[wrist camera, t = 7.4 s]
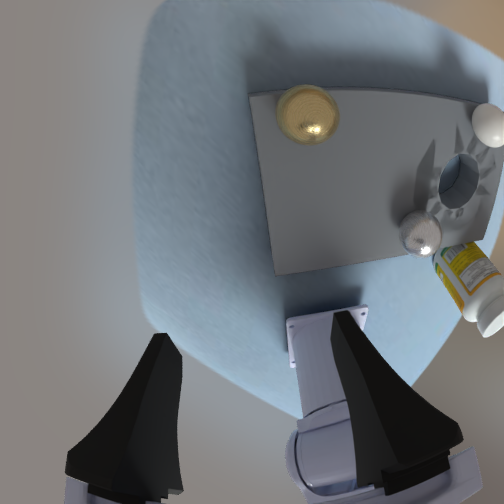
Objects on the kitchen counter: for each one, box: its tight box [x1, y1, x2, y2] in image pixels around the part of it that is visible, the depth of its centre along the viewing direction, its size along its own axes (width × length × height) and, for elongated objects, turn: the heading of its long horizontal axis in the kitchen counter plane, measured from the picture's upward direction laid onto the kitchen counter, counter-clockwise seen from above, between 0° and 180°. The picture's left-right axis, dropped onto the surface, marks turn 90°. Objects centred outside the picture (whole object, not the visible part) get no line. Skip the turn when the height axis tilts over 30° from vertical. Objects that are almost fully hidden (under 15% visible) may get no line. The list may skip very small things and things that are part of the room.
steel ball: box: [399, 210, 443, 258], centre depth 16 cm, size 3×3×3 cm
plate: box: [248, 87, 504, 276], centre depth 16 cm, size 12×20×2 cm, turn 98°
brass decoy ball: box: [275, 84, 340, 146], centre depth 11 cm, size 3×3×3 cm
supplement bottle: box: [433, 242, 504, 337], centre depth 18 cm, size 5×5×10 cm
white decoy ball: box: [472, 103, 504, 148], centre depth 11 cm, size 3×3×3 cm
